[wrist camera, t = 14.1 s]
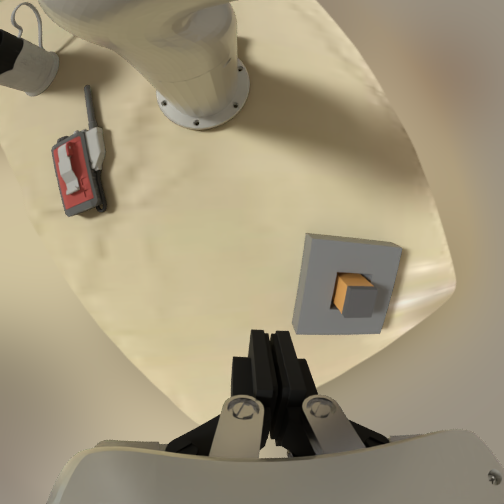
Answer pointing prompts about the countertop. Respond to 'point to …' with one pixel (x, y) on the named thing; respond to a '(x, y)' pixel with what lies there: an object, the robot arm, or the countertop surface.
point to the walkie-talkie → (81, 166)
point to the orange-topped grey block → (354, 295)
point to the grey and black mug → (26, 60)
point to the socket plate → (324, 276)
